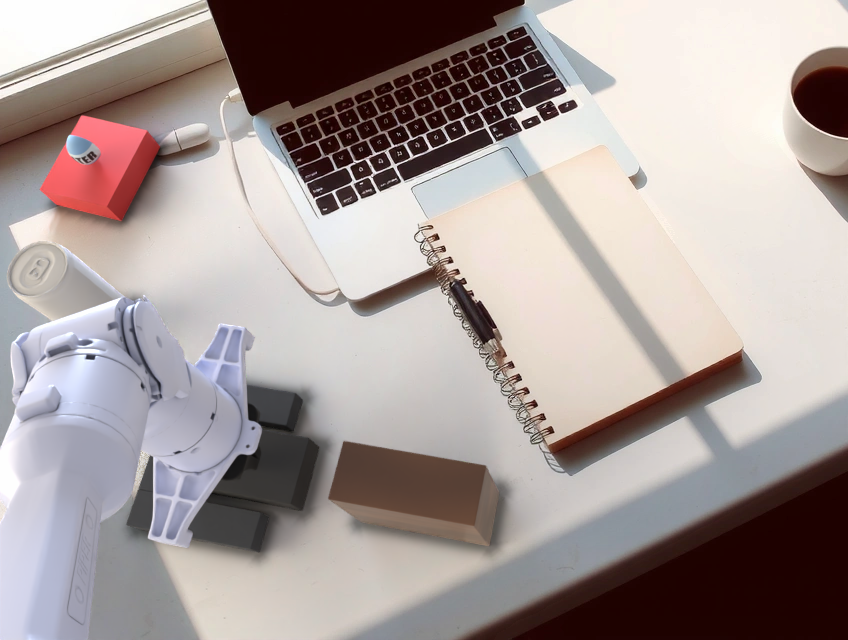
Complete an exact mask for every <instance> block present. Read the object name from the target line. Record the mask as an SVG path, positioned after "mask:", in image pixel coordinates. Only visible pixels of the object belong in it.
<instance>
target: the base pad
mask: <svg viewBox="0 0 848 640" xmlns="http://www.w3.org/2000/svg"><path fill="white" fill-rule="evenodd" d="M303 401H304V399H303V398H302V397H301V396H300V395H299V394H297V392H294V391H288V390H281V389H276V388H270V387H263V386H257V385H253V384H252V385H251V384H247V403H251V404H252V405H254V406H255V407H256V408H257V409H258V410H259V411H260V412H261V413H260V418H259V422H258V424H259V425H260V426H261V428H268V429H273V430H280V431H286V432H291V433H294V432H295V429H296V425H297V423H298V419H299V415H300V412H301V409H302V405H303ZM152 518H153V456H151V455H149V456H148V460H147V463H146V465H145V468H144V472H143V474H142V477H141V480H140V483H139V485H138V488H137V492H136V495H135V498H134V500H133V502H132V506H131V508H130V512H129V515H128V517H127V521H126V524H125V526H128V527H130V528H134V529H136V530H140V531H146V532H150V528H151V524H152ZM269 520H270V515H267V514H266V513H264V512H261V511H257V510H252V509H246V508H241V507H236V506H230V505H225V504H220V503H215V502H209V501H205V503H204V504H203V505H202V507H201V508H200V510H199V511H198V513H197V514H196V515H195V517H194V519H193V520H192V522H191V523H190V525H189V527H188V530H191V531H192V533H193V535H192V539H191V541H197V542H202V543H208V544H212V545H217V546H223V547H226V548H227V547H228V548H232V549H238V550H242V551H248V552H253V553H260V552H261V548H262V545H263V541H264V537H265V534H266V531H267V528H268V523H269Z"/></svg>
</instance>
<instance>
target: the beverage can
mask: <svg viewBox="0 0 848 640" xmlns="http://www.w3.org/2000/svg"><path fill="white" fill-rule="evenodd" d="M6 282H7V285H8V287H9V289H10V290H11V291H12V292H13V293H14V295H15V296H16V297H17V298H18V299H19V300H21V301H22V302H24V303H25V304H26V305H28V306H30V307H31V308H33V309H34V310H36V311H37V312H39V313H40V314H42V315H43V316H45V317H46V318H47V319H49V320H50V321H51V322H52V321H55V320H58V319H61V318H64V317H67V316H70V315H72V314H75V313H78V312H81V311H84V310H87V309H90V308H93V307H95V306H98V305H101V304H104V303H107V302H110V301H113V300H116V299H119V298H121V297H123V298H124V297H125V296H124V294H122V293H121V292H120V291H118V290H117V289H116V288H115V287H114V286H113V285H111V284H110V283H109V282H107V280H105V279H104V277H102V276H101V275H99V274H98V273H97V272H96V271H94V269H92V267H90V266H88V265H87V264H86V263H85V262H84V261H83V260H81V259H80V258H79V257H78V256H76V255H75V254H74V253H73V252H72V251H70V250H69V249H68V248H67V247H65V246H63V245H61V244H59V243H56V242H54V241H50V240H38V241H35V242H32V243H30V244H28V245H26V246H24V247H23V248H22V249H20V250H19V251H18V252H16V254H15V255H14V256H13V257H12V259H11V261H10V263H9V264H8V267H7V272H6Z"/></svg>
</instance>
